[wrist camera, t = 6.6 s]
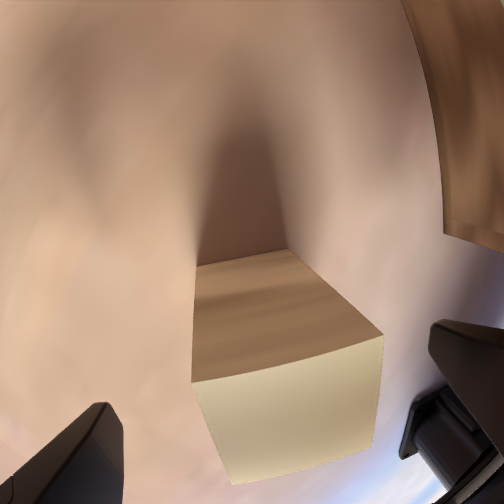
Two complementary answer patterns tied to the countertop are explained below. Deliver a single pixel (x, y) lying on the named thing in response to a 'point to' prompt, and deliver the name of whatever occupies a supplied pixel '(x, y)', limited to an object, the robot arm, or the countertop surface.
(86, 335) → the countertop surface
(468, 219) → the brown wooden open box
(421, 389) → the countertop surface
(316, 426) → the tan rectangular block
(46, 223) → the countertop surface
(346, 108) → the countertop surface
